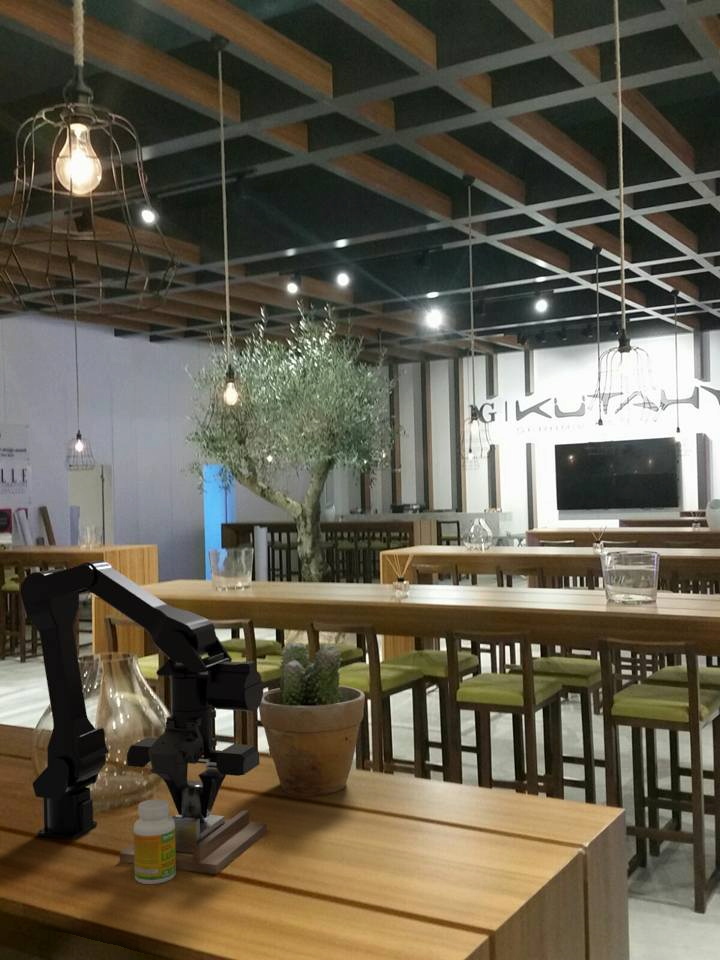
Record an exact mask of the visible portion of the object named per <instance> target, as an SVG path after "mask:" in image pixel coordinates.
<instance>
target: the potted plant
mask: <svg viewBox="0 0 720 960" xmlns="http://www.w3.org/2000/svg"><path fill="white" fill-rule="evenodd" d="M307 649H308V648H307V646H306V645H305V643H303V642H297V641H296V642H295V641H294V642H290V643H287V644H285V646H284V647H282V650H283V651H281V652H280V656H282V657H280V658H281V660H282V661H280V663H281V666H280V670H281V675H282V676H281V677H280V680H279V687H278V688H274V689H269V690H267V691H263V697H262V701H261V704H260V706H259V707H258V710H259V718H260V723H261V724H262V726H263V728H264V733H265V737H266V741H267V746H268V751H269V754H270V755H271V758H272V760H273V763H274V766H275V770H276V773H277V776H278V779H279V784H280V787H281V788H282V790H283V791H284V792H286V793H288V794H292V795H295V796H302V797H303V796H304V797H314V796H315V797H317V796H324V795H325V796H326V795H331V794H334V793H337V792H339V791H341V790H342V789H344V788H345V787H346V785H347V783H348V779H349V775H350V772H351V770H352V766H353V760H354V757H355V751H356V747H357V743H358V737H359V731H360V727H361V726H360V725H361V722H362V721H363V719H364V709H365V699H366V696H365V693H364V692H363V691H362V690H360V689H358V688H355V687H352V686H346V685H341V684H340V678H341V677H340V675H341V674H340V672H339V670H340V667H341V661H343V658H341V657H340V656H341V655H342V653H341V652H339V648H338V647H337V646H335V645H332V644H331V645H330V644H324V645H323V646H319V649H318V650H317V652H315V653H314V654H315V658H314V660H313V662H311V657H310V655H309V651H308V650H307Z"/></svg>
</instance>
